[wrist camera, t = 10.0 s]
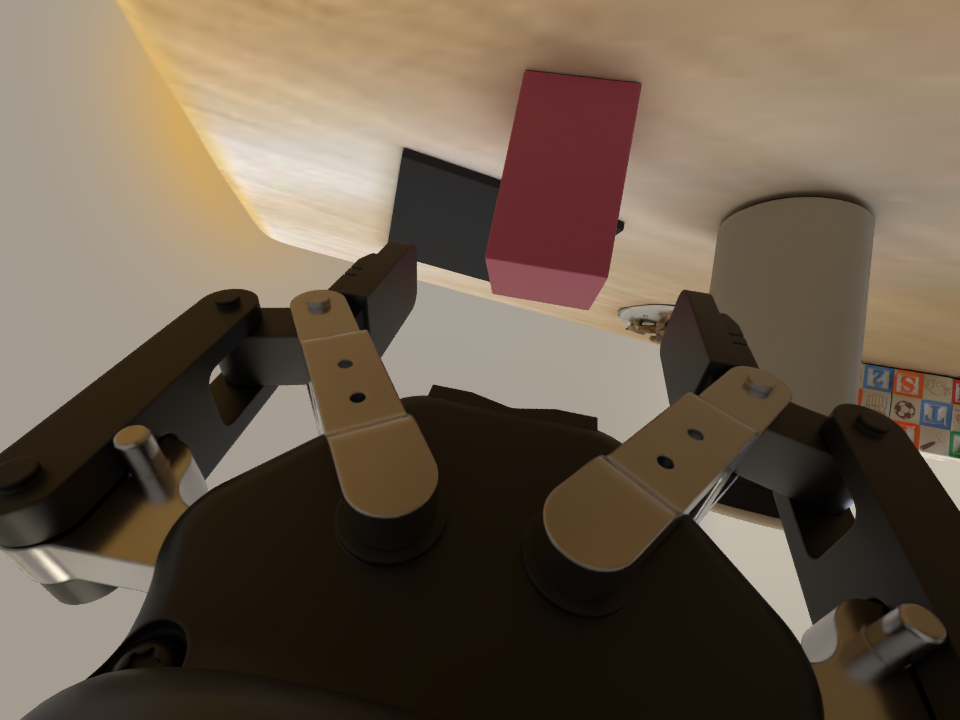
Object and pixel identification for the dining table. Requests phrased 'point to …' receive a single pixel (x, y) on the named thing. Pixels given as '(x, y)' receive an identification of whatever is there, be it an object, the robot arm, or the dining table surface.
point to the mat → (445, 213)
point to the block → (561, 189)
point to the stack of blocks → (916, 407)
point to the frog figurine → (647, 319)
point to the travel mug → (795, 308)
